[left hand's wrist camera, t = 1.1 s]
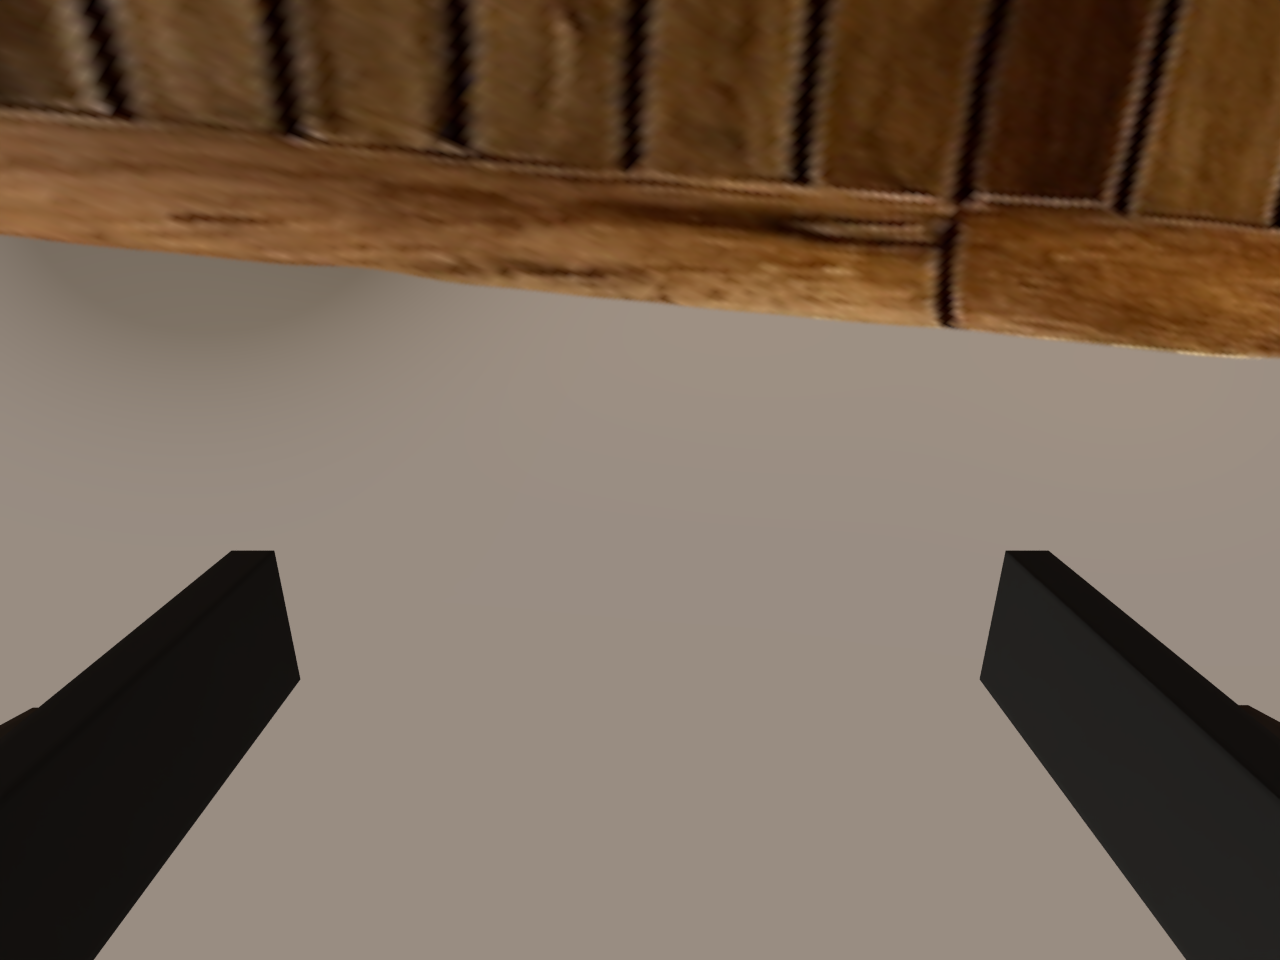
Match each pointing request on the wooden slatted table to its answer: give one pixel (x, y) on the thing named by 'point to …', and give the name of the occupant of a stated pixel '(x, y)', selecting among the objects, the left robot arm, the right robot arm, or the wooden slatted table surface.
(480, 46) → the wooden slatted table surface
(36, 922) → the left robot arm
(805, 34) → the wooden slatted table surface
